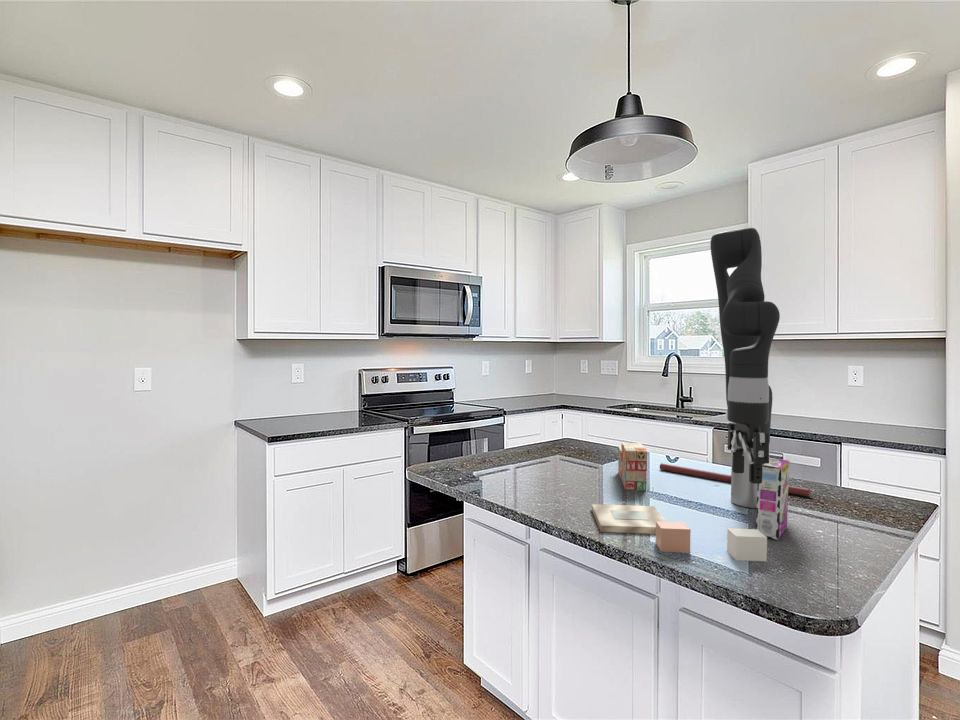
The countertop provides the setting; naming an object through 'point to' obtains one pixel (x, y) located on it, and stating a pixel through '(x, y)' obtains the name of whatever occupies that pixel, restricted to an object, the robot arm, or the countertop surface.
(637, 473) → the stack of blocks
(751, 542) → the cream brick
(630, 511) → the ash board
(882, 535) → the countertop surface
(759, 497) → the candy bar box
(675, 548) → the terracotta brick
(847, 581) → the countertop surface
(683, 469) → the rolling pin
